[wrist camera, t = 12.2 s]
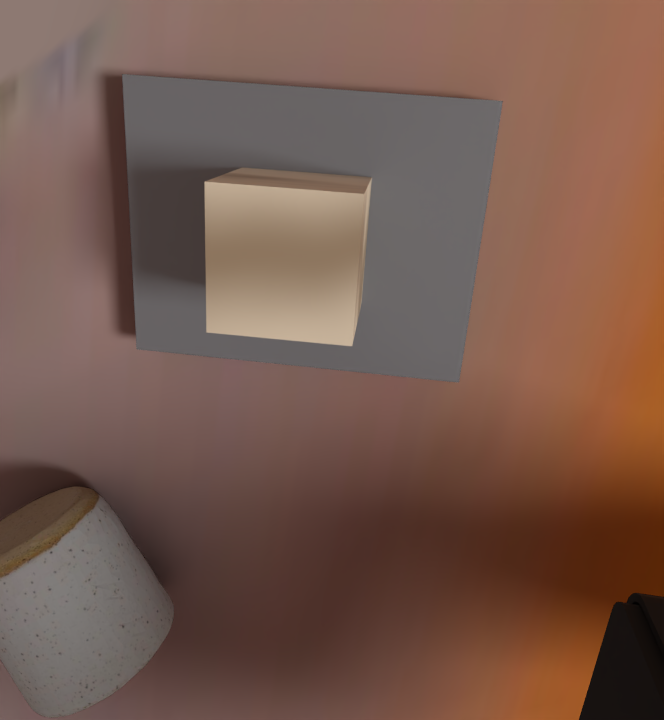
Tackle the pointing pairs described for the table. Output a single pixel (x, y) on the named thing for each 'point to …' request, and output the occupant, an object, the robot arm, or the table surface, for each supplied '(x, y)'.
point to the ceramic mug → (75, 602)
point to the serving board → (327, 156)
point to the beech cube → (285, 254)
